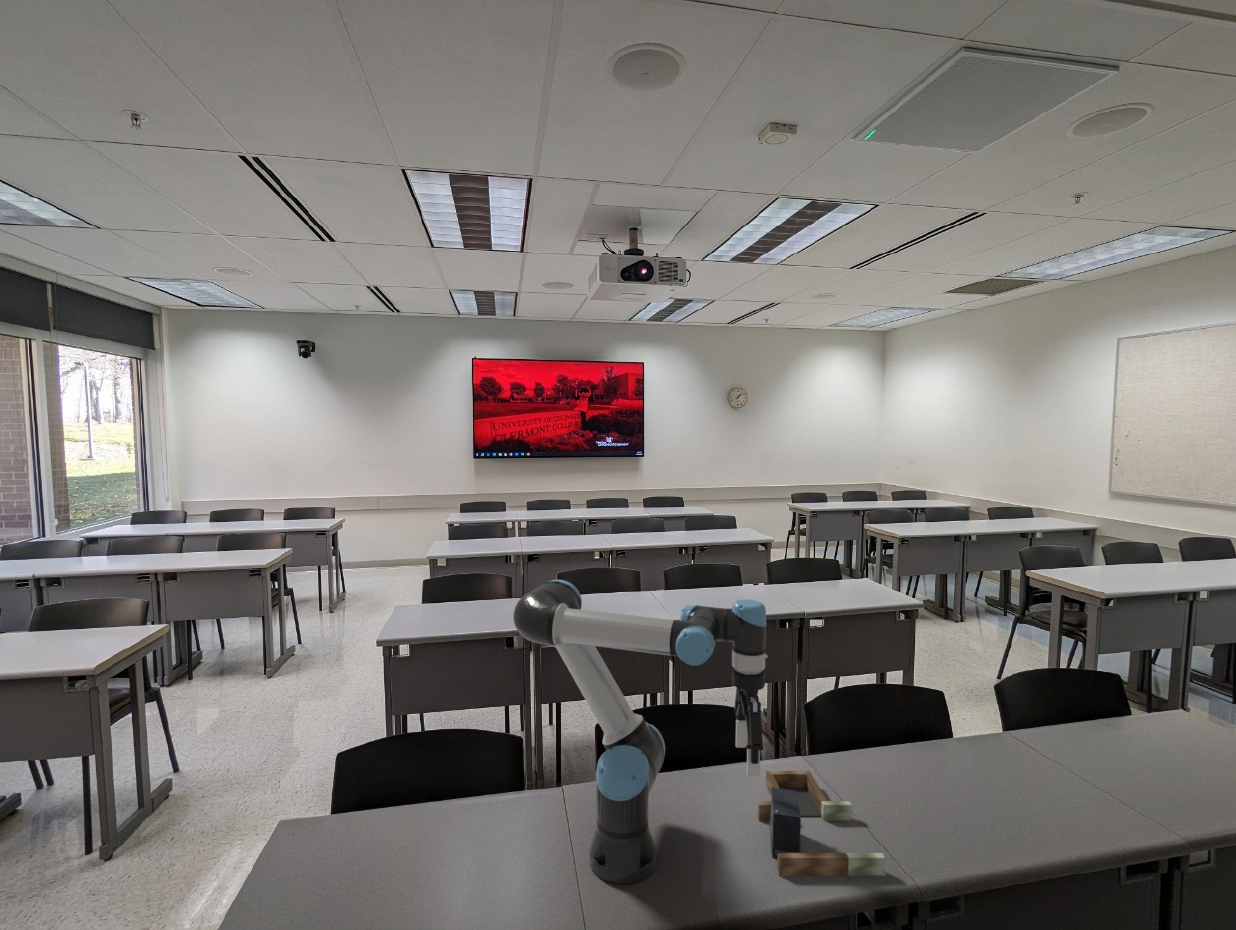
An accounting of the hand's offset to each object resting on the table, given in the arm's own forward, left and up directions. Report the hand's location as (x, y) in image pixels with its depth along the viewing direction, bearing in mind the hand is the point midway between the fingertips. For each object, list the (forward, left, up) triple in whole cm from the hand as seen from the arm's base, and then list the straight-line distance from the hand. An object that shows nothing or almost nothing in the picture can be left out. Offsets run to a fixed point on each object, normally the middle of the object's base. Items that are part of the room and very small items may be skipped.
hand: (747, 760), depth 138 cm
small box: (+9, 0, -20) cm, 22 cm away
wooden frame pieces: (+17, +7, -20) cm, 27 cm away
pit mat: (+17, +16, -20) cm, 30 cm away
